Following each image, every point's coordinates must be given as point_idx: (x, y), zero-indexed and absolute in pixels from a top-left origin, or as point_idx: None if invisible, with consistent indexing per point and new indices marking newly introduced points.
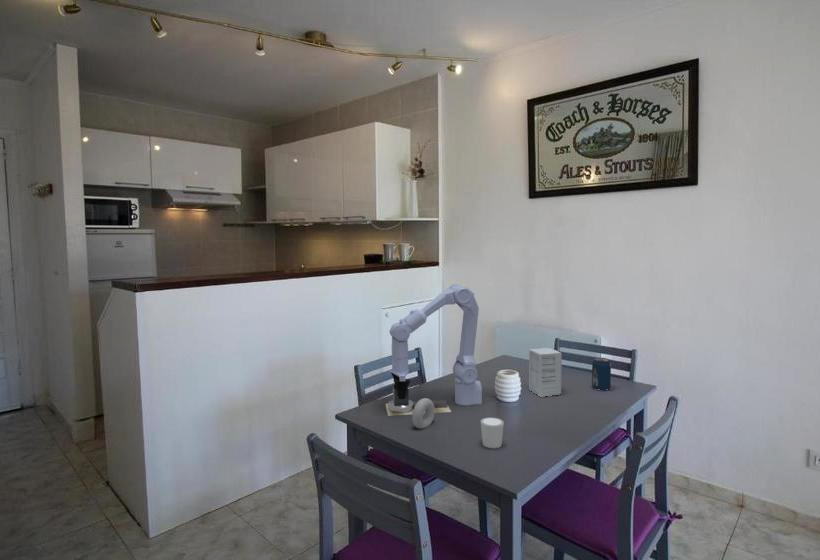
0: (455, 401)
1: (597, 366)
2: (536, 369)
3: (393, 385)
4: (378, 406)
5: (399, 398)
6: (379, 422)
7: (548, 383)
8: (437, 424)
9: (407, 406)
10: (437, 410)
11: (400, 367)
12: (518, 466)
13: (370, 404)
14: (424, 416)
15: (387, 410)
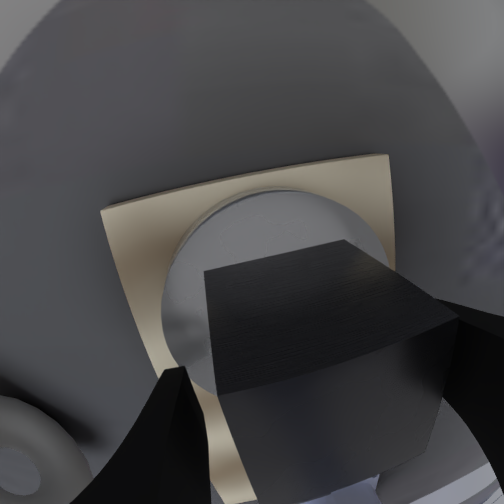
0: (340, 496)
1: None
2: None
3: (425, 336)
4: (378, 101)
5: (162, 379)
6: (47, 151)
7: None
8: (105, 460)
9: (200, 379)
10: (240, 473)
11: None
12: None
13: (407, 50)
14: (37, 459)
15: (225, 186)
